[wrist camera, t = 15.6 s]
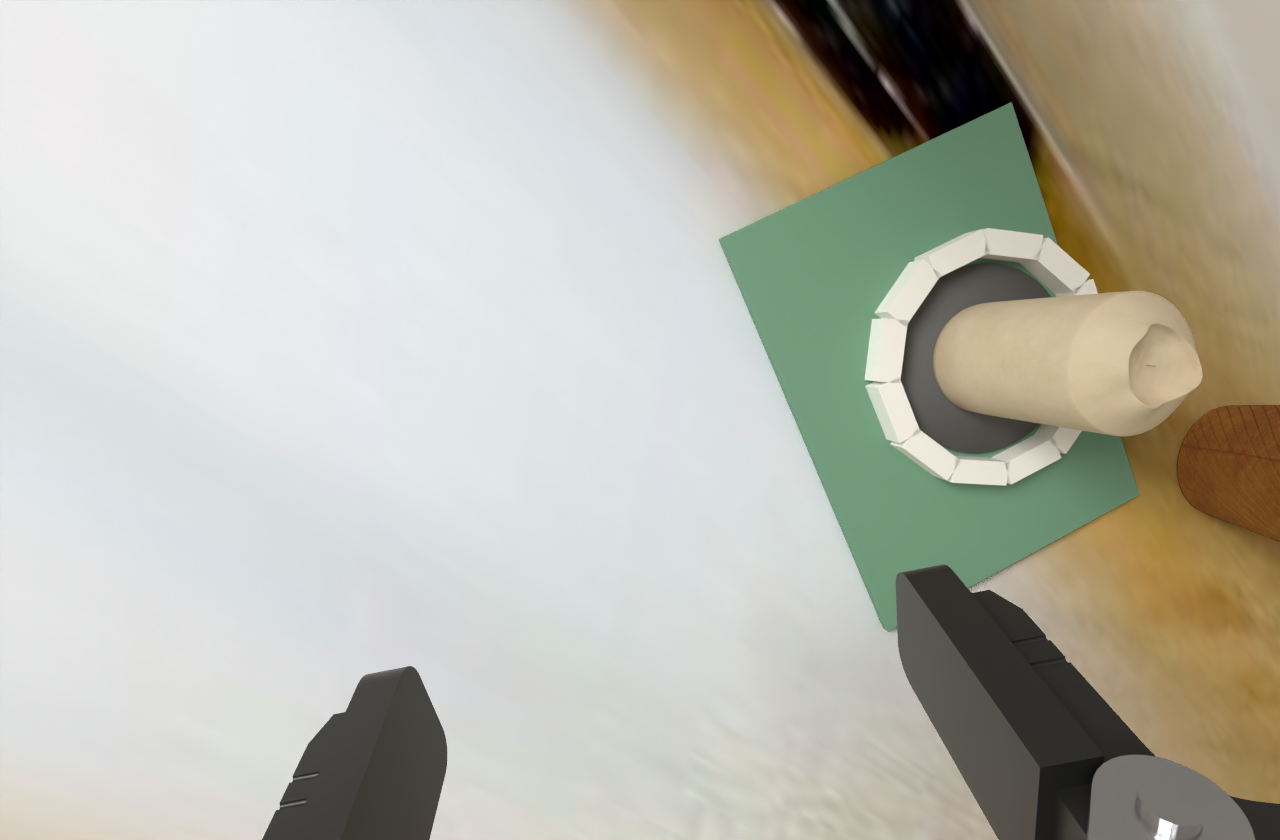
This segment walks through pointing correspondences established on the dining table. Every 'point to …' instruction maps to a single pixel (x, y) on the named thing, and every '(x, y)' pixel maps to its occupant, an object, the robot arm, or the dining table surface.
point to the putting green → (922, 357)
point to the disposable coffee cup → (1235, 466)
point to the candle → (1071, 361)
